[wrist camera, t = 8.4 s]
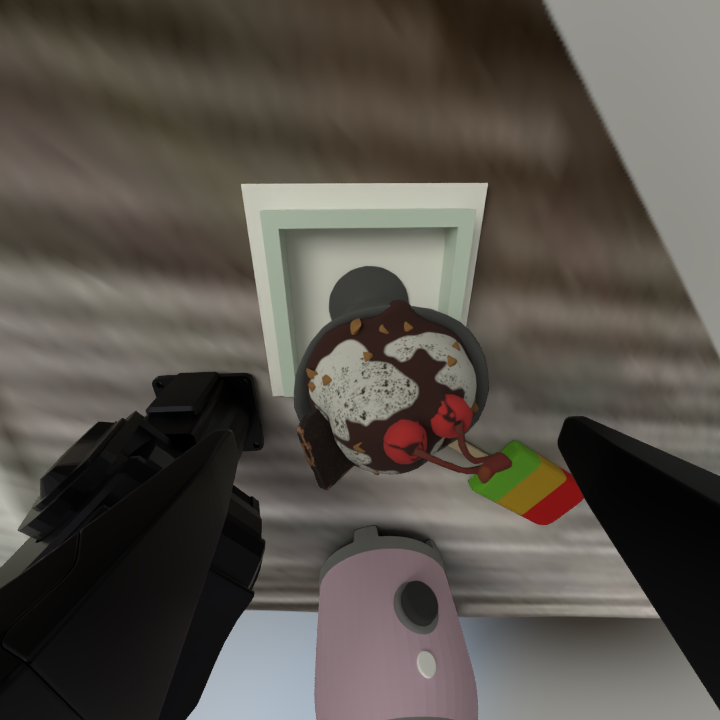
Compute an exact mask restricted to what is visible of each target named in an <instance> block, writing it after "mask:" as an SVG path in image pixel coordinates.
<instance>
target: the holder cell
mask: <svg viewBox="0 0 720 720" xmlns="http://www.w3.org/2000/svg"><path fill="white" fill-rule="evenodd" d="M487 186H488V183H372V184H241V187H242V194H243V201H244V207H245V214H246V221H247V227H248V234H249V240H250V247H251V254H252V260H253V267H254V274H255V280H256V287H257V294H258V300H259V307H260V314H261V320H262V327H263V334H264V340H265V347H266V354H267V360H268V367H269V374H270V380H271V387H272V393H273V396H284V397H294V385H295V375H296V373H297V370H298V367H299V365H300V362H301V360H302V357H303V355H304V353H305V351H306V349H307V347H308V346H309V344H310V342H311V341H312V340H313V338H314V337H315V336H316V335H317V334H318V332H319V331H320V330H321V329H322V328H323V327H324V326H325V325H327V324H328V323H329V322H330V321H332V320H331V317H330V313H329V299H330V294H331V292H332V290H333V288H334V286H335V284H336V283H337V281H338V280H339V279H340V278H341V277H342V276H343V275H345V274H346V273H348V272H349V271H351V270H353V269H356V268H359V267H363V266H376V267H382V268H384V269H386V270H388V271H390V272H392V273H393V274H395V275H396V276H397V277H398V278H399V279H400V280H401V282H402V283H403V285H404V286H405V288H406V291H407V294H408V299H409V304H410V305H411V306H416V307H422V308H429V309H433V310H436V311H438V312H441V313H443V314H446V315H448V316H450V317H452V318H454V319H456V320H458V321H460V322H461V323H462V324H463V325H464V326H465V327H466V324H467V318H468V311H469V304H470V298H471V291H472V285H473V278H474V272H475V265H476V259H477V252H478V245H479V239H480V232H481V226H482V219H483V213H484V206H485V200H486V193H487Z"/></svg>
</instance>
